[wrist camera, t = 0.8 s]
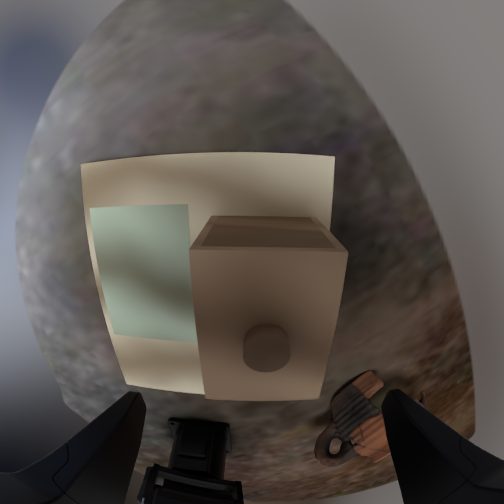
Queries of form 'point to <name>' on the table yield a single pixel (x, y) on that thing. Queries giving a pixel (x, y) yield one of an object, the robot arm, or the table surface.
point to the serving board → (179, 242)
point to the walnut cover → (265, 305)
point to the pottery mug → (356, 424)
